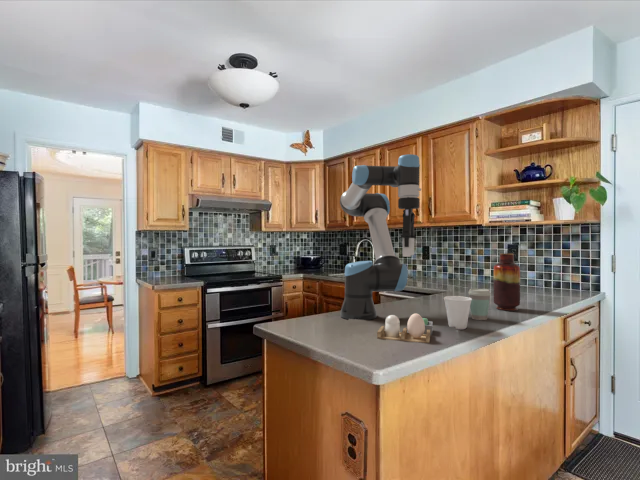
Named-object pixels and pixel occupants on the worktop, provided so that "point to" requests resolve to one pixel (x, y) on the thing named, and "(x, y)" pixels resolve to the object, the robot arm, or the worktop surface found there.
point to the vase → (507, 283)
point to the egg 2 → (416, 326)
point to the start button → (425, 321)
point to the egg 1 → (392, 326)
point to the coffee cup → (479, 303)
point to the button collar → (429, 327)
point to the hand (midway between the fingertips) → (408, 255)
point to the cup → (457, 311)
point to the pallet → (404, 336)
